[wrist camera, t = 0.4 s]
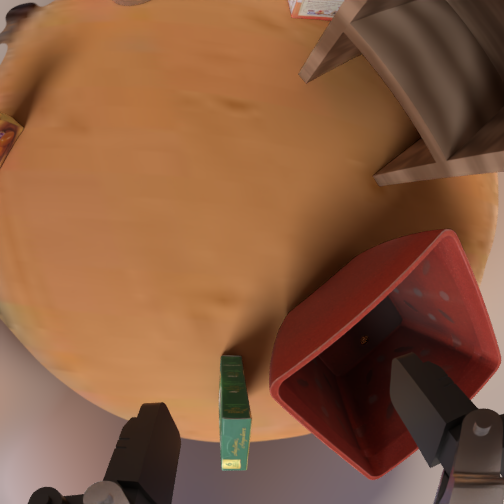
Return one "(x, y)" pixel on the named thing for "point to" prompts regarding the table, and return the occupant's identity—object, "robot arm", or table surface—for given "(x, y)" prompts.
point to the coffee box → (233, 414)
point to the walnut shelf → (429, 78)
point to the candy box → (8, 134)
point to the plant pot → (381, 344)
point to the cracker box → (314, 8)
